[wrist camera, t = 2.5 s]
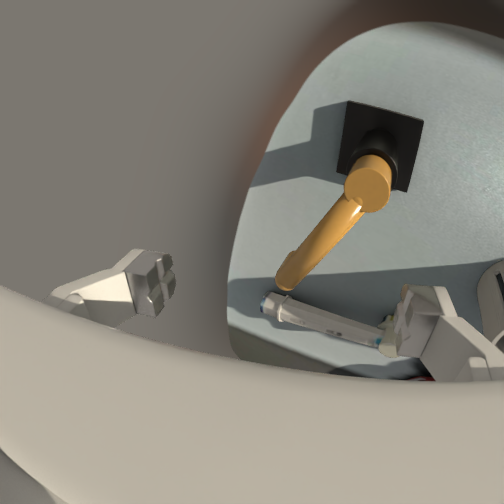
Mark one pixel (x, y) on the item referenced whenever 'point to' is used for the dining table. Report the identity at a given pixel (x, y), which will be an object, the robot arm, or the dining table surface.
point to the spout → (339, 218)
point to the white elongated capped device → (331, 323)
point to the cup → (492, 305)
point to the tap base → (380, 140)
